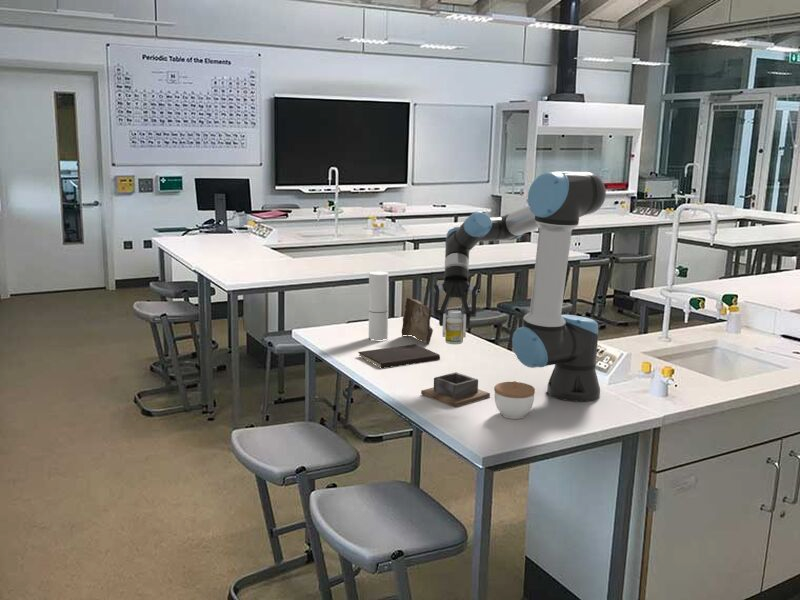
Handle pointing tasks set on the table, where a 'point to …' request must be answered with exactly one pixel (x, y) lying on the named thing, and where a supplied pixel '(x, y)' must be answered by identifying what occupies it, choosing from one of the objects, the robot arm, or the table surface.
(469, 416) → the table surface
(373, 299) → the cylindrical container
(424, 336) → the mineral sample
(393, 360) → the hardcover book
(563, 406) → the table surface
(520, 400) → the lidded jar
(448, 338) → the supplement bottle
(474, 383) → the wooden square holder
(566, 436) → the table surface
